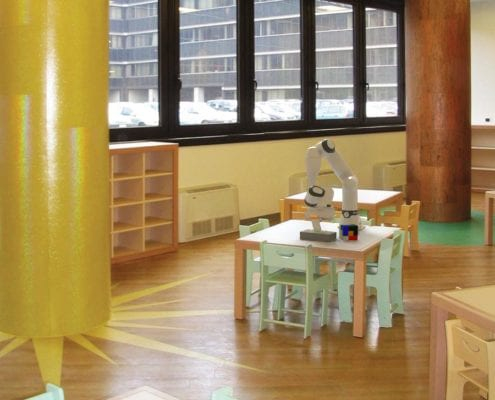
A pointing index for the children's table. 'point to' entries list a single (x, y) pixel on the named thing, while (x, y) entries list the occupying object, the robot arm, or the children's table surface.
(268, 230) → the children's table surface
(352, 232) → the puzzle toy
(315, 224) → the lever
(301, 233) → the switch box
